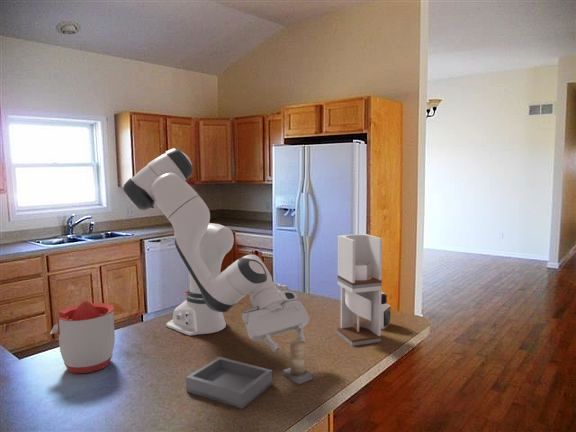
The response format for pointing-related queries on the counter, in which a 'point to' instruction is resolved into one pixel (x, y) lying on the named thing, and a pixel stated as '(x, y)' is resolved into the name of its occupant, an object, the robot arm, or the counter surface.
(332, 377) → the counter surface
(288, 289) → the teacup
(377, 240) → the white miniature tower model
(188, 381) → the tray
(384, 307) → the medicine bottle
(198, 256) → the robot arm
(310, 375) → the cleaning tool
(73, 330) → the citrus juicer
